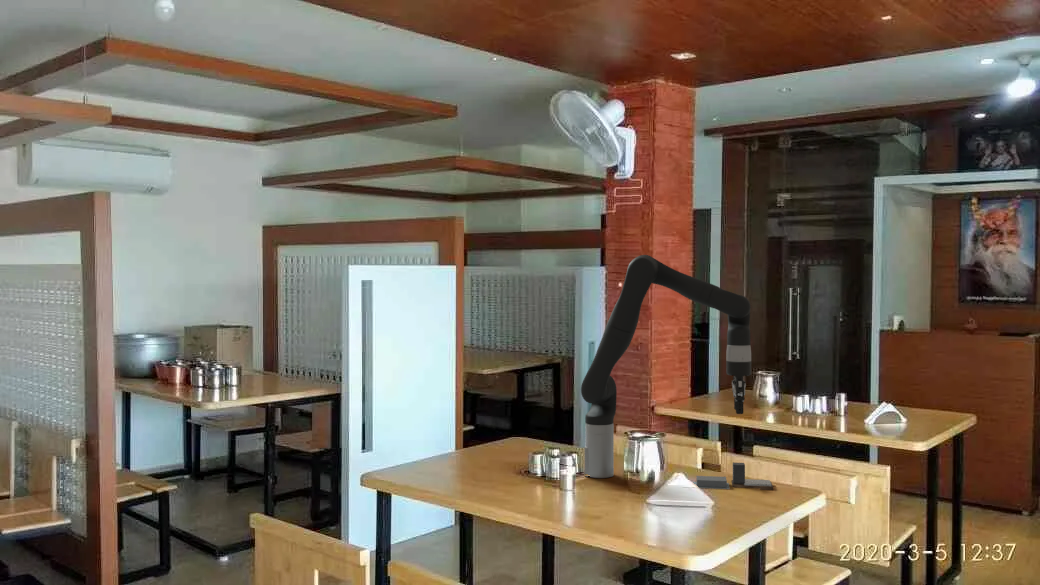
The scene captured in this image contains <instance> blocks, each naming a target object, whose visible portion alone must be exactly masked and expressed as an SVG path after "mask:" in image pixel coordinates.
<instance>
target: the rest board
mask: <svg viewBox="0 0 1040 585" xmlns="http://www.w3.org/2000/svg"><path fill="white" fill-rule="evenodd" d="M731 484H732V488H739V489H740V488H741V489H742V488H743V489H759V490H760V491H762V490H763V491H764V490H765V491H774V485H773V483H772V482H771V486H746V485H744V484H733V479H731Z"/></svg>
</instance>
